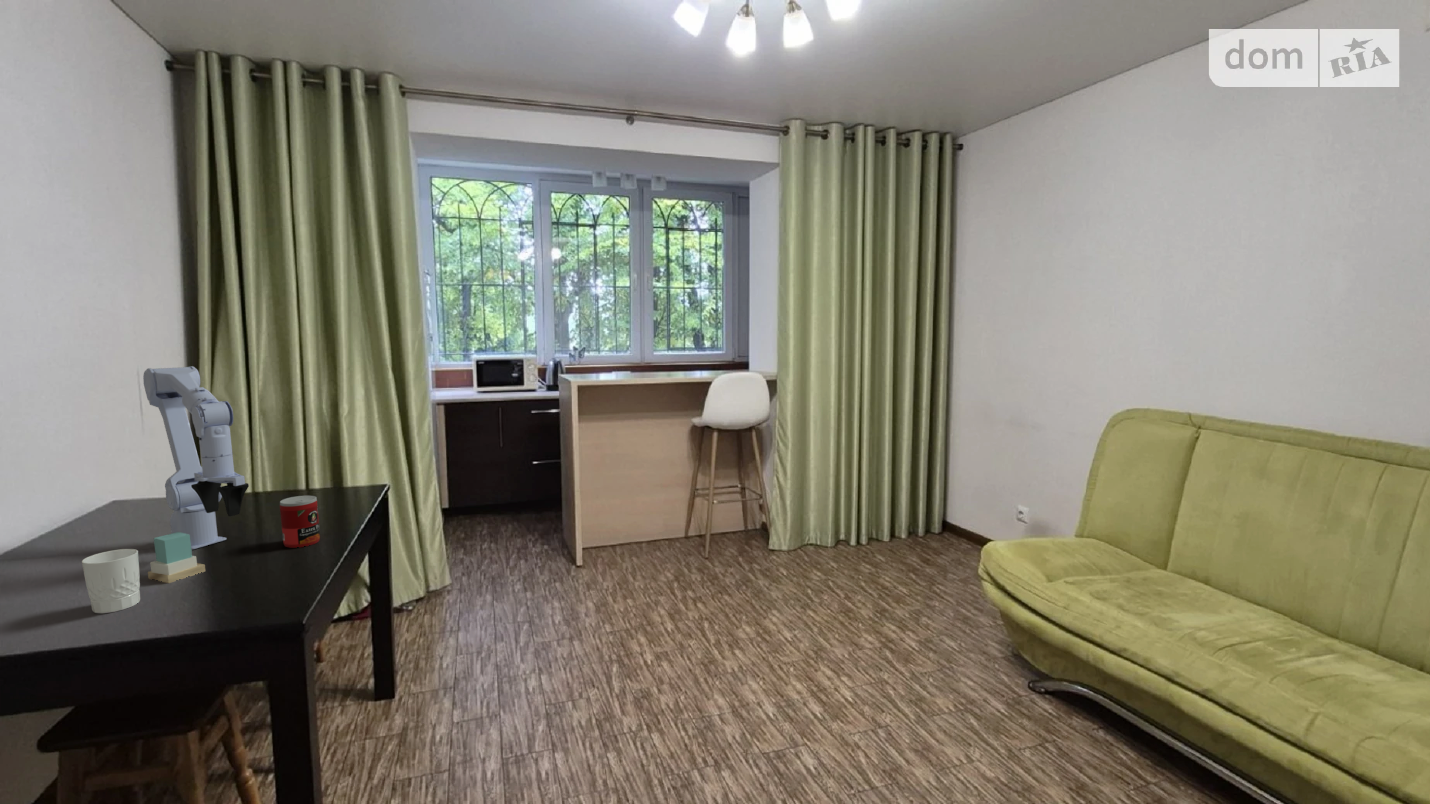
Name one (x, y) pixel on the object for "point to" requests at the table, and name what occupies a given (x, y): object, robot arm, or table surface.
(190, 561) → the cream slab
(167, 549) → the teal block
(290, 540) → the canned food
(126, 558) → the white cup
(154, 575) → the oak slab
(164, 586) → the table surface
